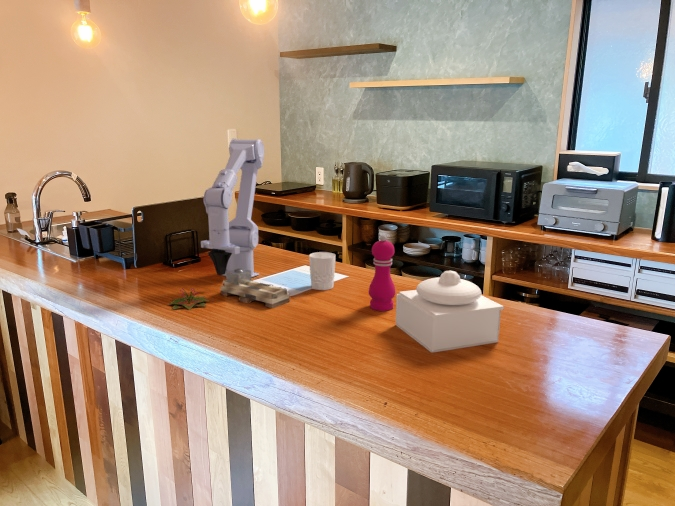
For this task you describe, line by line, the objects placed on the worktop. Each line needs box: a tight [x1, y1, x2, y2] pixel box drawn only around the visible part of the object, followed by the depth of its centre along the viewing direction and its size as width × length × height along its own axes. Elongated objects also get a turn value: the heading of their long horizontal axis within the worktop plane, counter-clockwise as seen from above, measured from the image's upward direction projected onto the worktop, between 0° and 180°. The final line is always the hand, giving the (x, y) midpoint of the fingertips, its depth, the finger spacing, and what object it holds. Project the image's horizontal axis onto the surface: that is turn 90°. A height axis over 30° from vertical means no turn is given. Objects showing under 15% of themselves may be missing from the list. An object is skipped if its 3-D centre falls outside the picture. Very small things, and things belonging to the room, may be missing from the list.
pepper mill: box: [368, 234, 396, 312], centre depth 142 cm, size 7×7×20 cm
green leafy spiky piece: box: [167, 288, 210, 311], centre depth 146 cm, size 12×12×5 cm
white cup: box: [308, 251, 336, 291], centre depth 161 cm, size 8×8×10 cm
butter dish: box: [395, 270, 505, 353], centre depth 125 cm, size 18×18×16 cm
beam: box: [220, 279, 290, 309], centre depth 151 cm, size 20×9×4 cm, turn 54°
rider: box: [225, 268, 252, 285], centre depth 154 cm, size 5×5×5 cm
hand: (221, 274), depth 158 cm, fingers closed
